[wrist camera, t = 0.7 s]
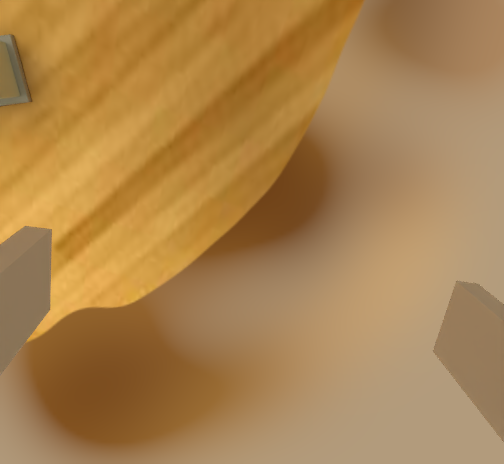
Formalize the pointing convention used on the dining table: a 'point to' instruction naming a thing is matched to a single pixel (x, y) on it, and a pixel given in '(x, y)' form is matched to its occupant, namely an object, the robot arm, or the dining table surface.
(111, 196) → the dining table surface
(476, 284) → the robot arm
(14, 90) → the unit
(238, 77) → the dining table surface
